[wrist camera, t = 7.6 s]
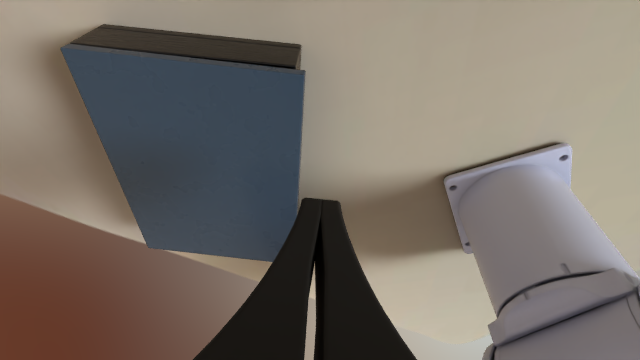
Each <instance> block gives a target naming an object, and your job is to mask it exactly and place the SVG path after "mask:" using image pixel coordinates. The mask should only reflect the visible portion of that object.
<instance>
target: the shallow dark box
mask: <svg viewBox="0 0 640 360" xmlns="http://www.w3.org/2000/svg"><path fill="white" fill-rule="evenodd" d="M70 44H75V45H84V46H93V47H101V48H110V49H119V50H128V51H137V52H146V53H154V54H163V55H172V56H181V57H190V58H199V59H207V60H216V61H225V62H234V63H243V64H251V65H260V66H269V67H278V68H287V69H296V70H300V64H301V45H299V44H290V43H280V42H270V41H261V40H251V39H241V38H231V37H222V36H212V35H202V34H193V33H183V32H173V31H164V30H154V29H144V28H135V27H125V26H115V25H106V24H103V25H101V26H100V27H98V28H96V29H94V30H92V31H90V32H89V33H87V34H85V35H83V36H81V37H80V38H78V39H76V40H74V41H72V42H71V43H70Z"/></svg>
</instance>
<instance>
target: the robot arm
mask: <svg viewBox="0 0 640 360" xmlns="http://www.w3.org/2000/svg"><path fill="white" fill-rule="evenodd" d="M563 155H564V156H563ZM561 156H562V157H561ZM571 166H572V147H571V146H570V145H569V144H567V143H561V144H557V145H554V146H550V147H547V148H543V149H540V150H536V151H533V152H529V153H526V154H522V155H519V156H515V157H512V158H508V159H505V160H501V161H498V162H494V163H491V164H487V165H484V166H480V167H477V168H473V169H470V170H466V171H463V172H459V173H456V174H452V175H449V176H447V177H446V178H445V179H444V185H445V189H446V192H447V196H448V199H449V202H450V206H451V209H452V213H453V216H454V219H455V223H456V226H457V230H458V233H459V236H460V240H461V243H462V247H463V250H464V252H465V253H467V254H471V253H473V254H474V256H475V259H476V262H477V265H478V267H479V270H480V273H481V275H482V278H483V281H484V284H485V286H486V289H487V292H488V294H489V297H490V300H491V303H492V305H493V308H494V311H495V313H496V316H497V319H496V320H495V321H494V322H492V323H490V324H489V325H488V328H489V331H490V334H491V337H492V340H493V344H491V345H490V346H488V347H487V349H486V350H485V352H484V355H483V358H482V360H640V278H639V277H638V275H637V274H636V273H635V272H634V270H633V269H632V268H631V266H630V265H629V264H628V263H627V261H626V260H625V259H624V257H623V256H622V255H621V254H620V252H619V251H618V250H617V248H616V247H615V246H614V245H613V243H612V242H611V241H610V239H609V238H608V237H607V236H606V234H605V233H604V232H603V230H602V229H601V228H600V227H599V225H598V224H597V223H596V221H595V220H594V219H593V218H592V216H591V215H590V214H589V212H588V211H587V210H586V209H585V207H584V206H583V205H582V203H581V202H580V201H579V200H578V198H577V197H576V196H575V194H574V193H573V192H572V191H571ZM454 185H455V186H454ZM451 186H453V187H451ZM314 263H315V282H316V334H315V349H314V360H417V359H416V358H415V356H414V355H413V354H412V352H411V351H410V349H409V348H408V347H407V345H406V344H405V342H404V341H403V339H402V338H401V336H400V335H399V333H398V332H397V330H396V329H395V327H394V325H393V324H392V322H391V321H390V319H389V318H388V316H387V315H386V313H385V311H384V310H383V308H382V306H381V305H380V303H379V301H378V299H377V298H376V296H375V294H374V292H373V290H372V288H371V286H370V284H369V283H368V281H367V279H366V276H365V274H364V272H363V270H362V268H361V266H360V263H359V261H358V259H357V256H356V254H355V252H354V249H353V246H352V244H351V241H350V238H349V236H348V233H347V229H346V226H345V223H344V219H343V215H342V211H341V205H340V203H339V202H338V201H333V200H323V199H312V198H304V199H302V202H301V206H300V209H299V212H298V215H297V217H296V220H295V222H294V224H293V226H292V228H291V230H290V232H289V234H288V236H287V238H286V240H285V242H284V244H283V246H282V248H281V249H280V251H279V253H278V255H277V256H276V258H275V260H274V261H273V263H272V265H271V266H270V268H269V269H268V271H267V272H266V274H265V275H264V277H263V278H262V280H261V281H260V282H259V284H258V285H257V287H256V288H255V289H254V291H253V292H252V293H251V295H250V296H249V297H248V299H247V300H246V301H245V303H244V304H243V305H242V306H241V308H240V309H239V310H238V311H237V312H236V313H235V315H234V316H233V317H232V318H231V319H230V320H229V322H228V323H227V324H226V325H225V326H224V327H223V328H222V330H221V331H220V332H219V333H218V334H217V335H216V336H215V337H214V338H213V340H211V342H210V343H209V344H208V345H207V346H206V347H205V348H204V349H203V350H202V351H201V352H200V353H199V354H198V355H197V356H196V357H195V358H194V359H193V360H304V353H305V339H306V324H307V311H308V298H309V292H310V286H311V280H312V275H313V269H314Z"/></svg>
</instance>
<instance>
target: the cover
mask: <svg viewBox="0 0 640 360" xmlns="http://www.w3.org/2000/svg"><path fill="white" fill-rule="evenodd" d="M60 49H61V51H62V54H63V56H64V58H65V60H66V63H67V65H68V67H69V69H70V72H71V74H72V76H73V78H74V81H75V83H76V85H77V87H78V90H79V92H80V94H81V97H82V99H83V101H84V103H85V106H86V108H87V110H88V112H89V115H90V117H91V119H92V121H93V124H94V126H95V128H96V130H97V133H98V135H99V137H100V140H101V142H102V144H103V146H104V149H105V151H106V153H107V155H108V158H109V160H110V162H111V164H112V167H113V169H114V171H115V174H116V176H117V178H118V180H119V183H120V185H121V187H122V189H123V192H124V194H125V196H126V198H127V201H128V203H129V205H130V207H131V210H132V212H133V214H134V217H135V219H136V221H137V223H138V226H139V228H140V230H141V232H142V235H143V237H144V239H145V241H146V244H147V246H148V248H154V249H163V250H172V251H180V252H189V253H198V254H207V255H216V256H225V257H233V258H242V259H251V260H260V261H269V262H273V261H274V260H275V258H276V256H277V255H278V253H279V251H280V249H281V248H282V246H283V244H284V242H285V240H286V238H287V236H288V234H289V232H290V230H291V228H292V226H293V224H294V222H295V220H296V217H297V214H298V196H299V178H300V160H301V143H302V125H303V107H304V90H305V71H304V70H296V69H287V68H278V67H269V66H260V65H251V64H243V63H234V62H225V61H216V60H207V59H199V58H190V57H181V56H172V55H163V54H154V53H146V52H137V51H128V50H119V49H110V48H101V47H93V46H84V45H75V44H67V45H65V46H63V47H61V48H60Z"/></svg>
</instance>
